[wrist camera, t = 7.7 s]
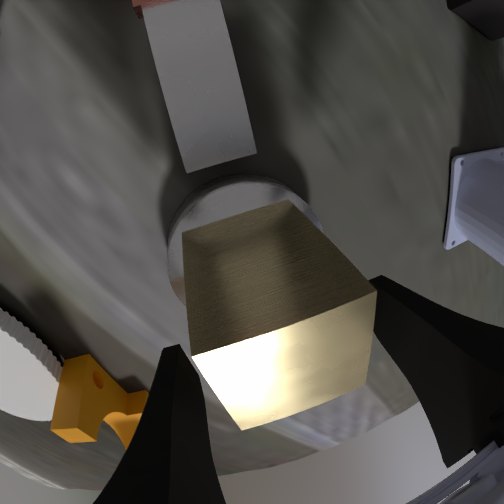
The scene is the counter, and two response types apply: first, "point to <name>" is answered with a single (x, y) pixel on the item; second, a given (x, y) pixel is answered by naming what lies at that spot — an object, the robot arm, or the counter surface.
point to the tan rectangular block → (275, 313)
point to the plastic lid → (26, 372)
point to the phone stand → (481, 15)
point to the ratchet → (206, 118)
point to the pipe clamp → (93, 403)
